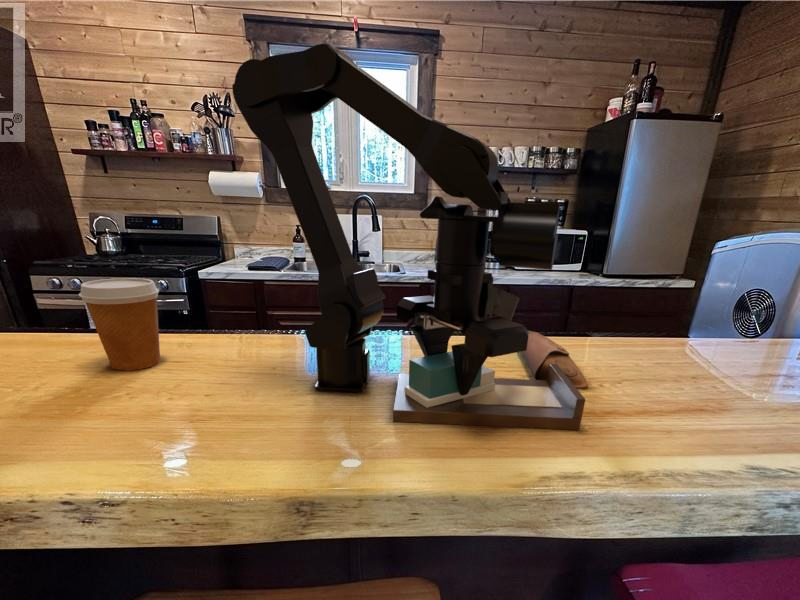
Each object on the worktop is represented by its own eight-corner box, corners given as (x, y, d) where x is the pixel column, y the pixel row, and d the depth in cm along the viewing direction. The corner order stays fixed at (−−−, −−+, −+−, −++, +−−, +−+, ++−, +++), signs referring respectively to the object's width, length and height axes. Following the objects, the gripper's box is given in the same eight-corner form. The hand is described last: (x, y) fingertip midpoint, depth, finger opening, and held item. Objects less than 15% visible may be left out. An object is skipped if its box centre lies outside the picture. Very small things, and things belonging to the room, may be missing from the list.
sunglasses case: (593, 386, 62) (576, 347, 60) (547, 406, 64) (529, 368, 62) (561, 348, 79) (547, 317, 77) (525, 365, 81) (511, 334, 79)
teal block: (426, 408, 51) (428, 372, 49) (404, 393, 55) (404, 359, 53) (495, 390, 57) (498, 356, 55) (470, 377, 61) (472, 346, 59)
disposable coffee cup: (184, 361, 67) (171, 283, 62) (118, 379, 59) (96, 291, 55) (151, 349, 71) (136, 275, 67) (85, 364, 64) (63, 282, 59)
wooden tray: (392, 421, 51) (393, 390, 49) (399, 383, 62) (399, 356, 61) (579, 430, 51) (585, 399, 49) (552, 390, 62) (556, 364, 60)
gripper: (572, 270, 47) (549, 401, 53) (463, 252, 61) (455, 357, 67) (497, 275, 41) (481, 422, 47) (395, 254, 55) (393, 368, 61)
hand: (450, 387), depth 56 cm, fingers closed on teal block, 5 cm apart
